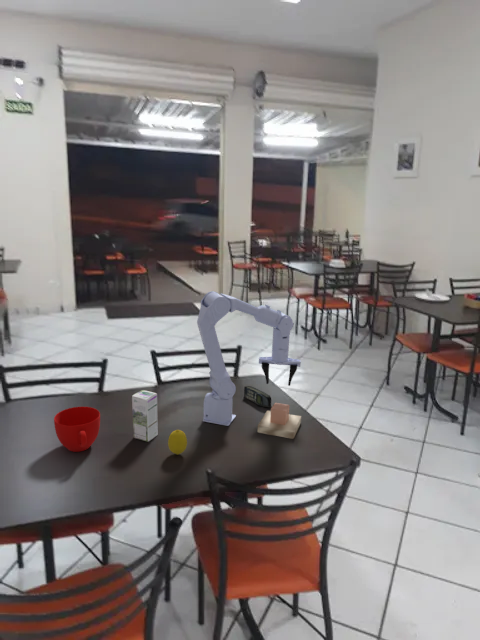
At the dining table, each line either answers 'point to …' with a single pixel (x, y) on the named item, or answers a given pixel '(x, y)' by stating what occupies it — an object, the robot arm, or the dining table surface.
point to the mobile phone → (257, 396)
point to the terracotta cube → (279, 413)
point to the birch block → (279, 426)
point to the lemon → (177, 442)
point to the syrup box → (144, 415)
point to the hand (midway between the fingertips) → (278, 383)
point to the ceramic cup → (77, 427)
